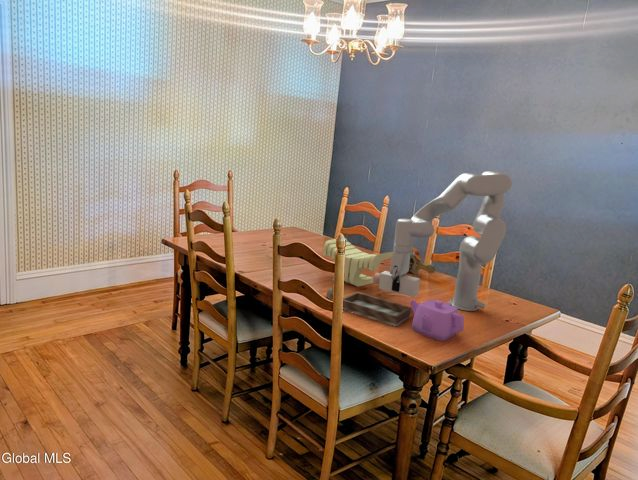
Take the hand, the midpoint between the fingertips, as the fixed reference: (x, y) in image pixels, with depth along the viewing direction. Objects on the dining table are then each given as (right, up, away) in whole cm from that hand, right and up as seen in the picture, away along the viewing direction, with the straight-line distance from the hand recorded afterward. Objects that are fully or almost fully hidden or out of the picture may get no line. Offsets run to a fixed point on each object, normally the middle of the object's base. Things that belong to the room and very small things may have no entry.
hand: (398, 288), depth 206 cm
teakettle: (+9, -14, -25) cm, 30 cm away
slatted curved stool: (-17, +1, +29) cm, 33 cm away
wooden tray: (-11, -9, -11) cm, 18 cm away
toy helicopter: (+18, +2, +50) cm, 53 cm away
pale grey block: (-1, -1, +1) cm, 2 cm away
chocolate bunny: (-28, -4, +2) cm, 28 cm away
